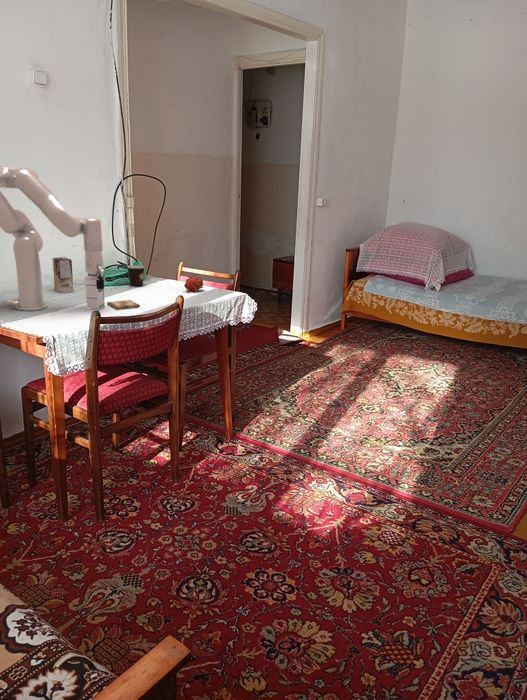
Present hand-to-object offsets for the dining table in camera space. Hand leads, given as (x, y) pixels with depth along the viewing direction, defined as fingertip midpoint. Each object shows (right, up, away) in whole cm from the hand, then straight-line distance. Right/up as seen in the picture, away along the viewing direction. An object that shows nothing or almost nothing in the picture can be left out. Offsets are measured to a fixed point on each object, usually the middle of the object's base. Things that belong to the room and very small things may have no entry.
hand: (96, 286), depth 249 cm
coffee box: (-26, +2, +34) cm, 43 cm away
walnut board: (+10, -8, +8) cm, 15 cm away
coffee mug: (+4, +6, +53) cm, 53 cm away
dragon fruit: (+37, +3, +46) cm, 59 cm away
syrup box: (-1, -9, +3) cm, 10 cm away
